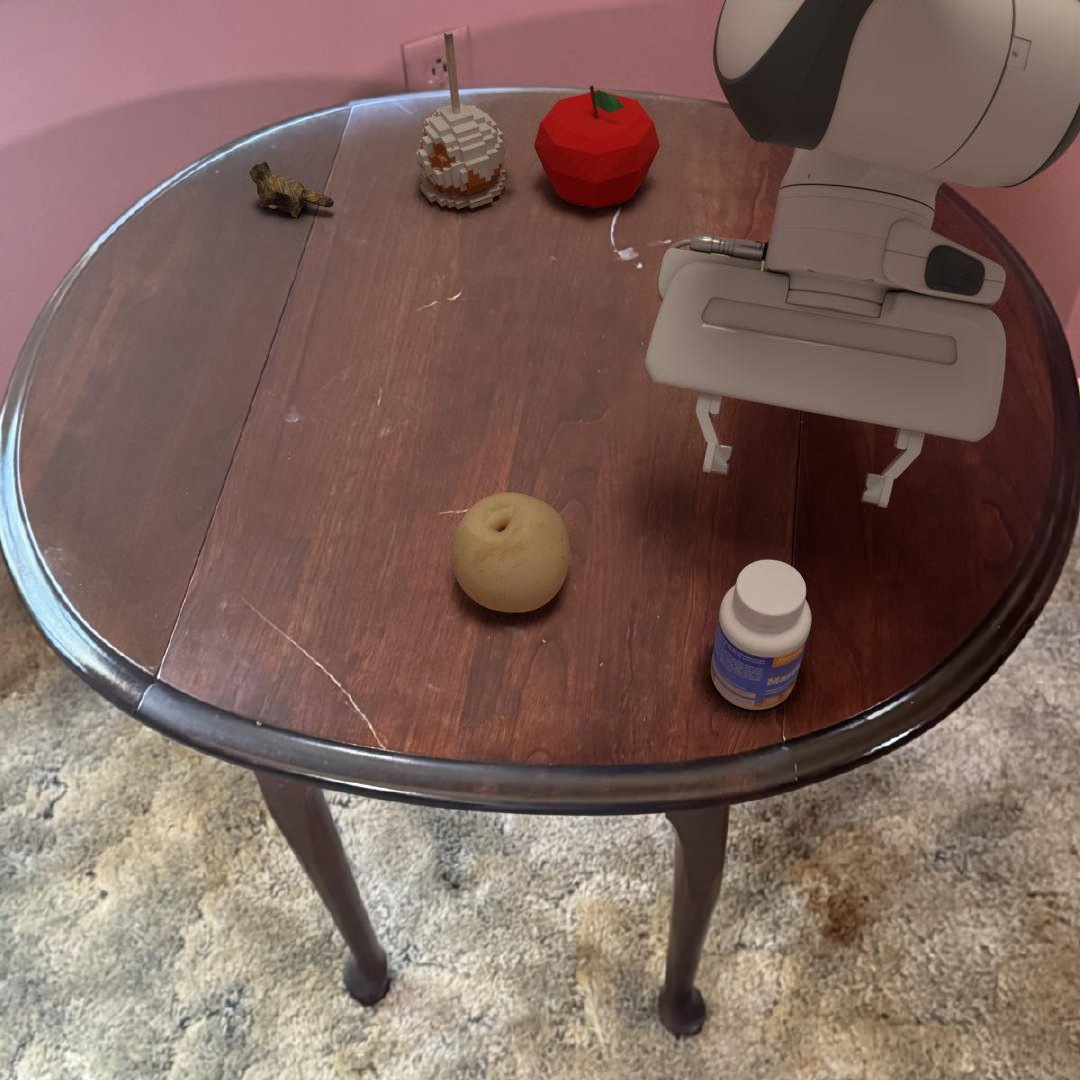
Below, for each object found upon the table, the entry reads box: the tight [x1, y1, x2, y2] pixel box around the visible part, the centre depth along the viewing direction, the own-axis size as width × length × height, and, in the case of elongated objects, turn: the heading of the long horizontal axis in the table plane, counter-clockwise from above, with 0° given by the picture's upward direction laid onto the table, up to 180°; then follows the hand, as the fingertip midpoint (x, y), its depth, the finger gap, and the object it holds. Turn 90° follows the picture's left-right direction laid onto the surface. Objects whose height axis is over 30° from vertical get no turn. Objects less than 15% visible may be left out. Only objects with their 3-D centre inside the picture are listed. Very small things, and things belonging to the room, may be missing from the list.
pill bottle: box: [710, 559, 812, 711], centre depth 67 cm, size 5×5×10 cm
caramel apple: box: [415, 29, 507, 210], centre depth 98 cm, size 8×8×15 cm
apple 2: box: [533, 84, 661, 210], centre depth 100 cm, size 11×11×10 cm
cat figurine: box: [249, 161, 335, 219], centre depth 102 cm, size 3×8×4 cm, turn 74°
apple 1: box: [450, 491, 571, 613], centre depth 74 cm, size 8×8×8 cm
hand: (792, 489), depth 66 cm, fingers open, 8 cm apart
